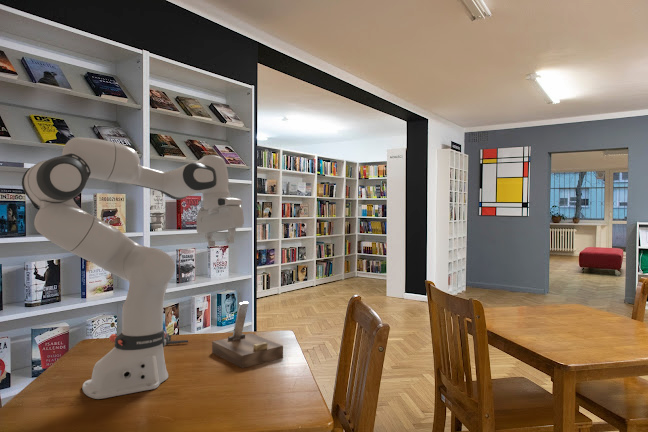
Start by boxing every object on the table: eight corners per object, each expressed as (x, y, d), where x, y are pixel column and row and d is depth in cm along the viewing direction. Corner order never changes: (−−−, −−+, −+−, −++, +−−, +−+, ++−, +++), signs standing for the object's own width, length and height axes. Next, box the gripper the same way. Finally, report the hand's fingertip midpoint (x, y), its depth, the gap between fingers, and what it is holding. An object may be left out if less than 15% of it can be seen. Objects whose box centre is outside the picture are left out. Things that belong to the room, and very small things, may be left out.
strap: (240, 304, 150) (239, 302, 151) (233, 339, 154) (231, 338, 155) (248, 302, 153) (247, 301, 153) (241, 338, 156) (239, 336, 157)
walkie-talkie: (130, 349, 157) (188, 345, 162) (130, 337, 157) (188, 334, 162) (134, 342, 165) (189, 339, 170) (134, 330, 165) (189, 327, 170)
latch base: (242, 368, 137) (242, 350, 137) (212, 352, 152) (212, 336, 152) (282, 357, 148) (283, 340, 148) (251, 343, 163) (251, 328, 163)
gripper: (190, 208, 149) (193, 248, 148) (230, 198, 137) (234, 241, 136) (205, 208, 154) (208, 247, 153) (245, 199, 143) (249, 241, 141)
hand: (221, 244), depth 145 cm, fingers open, 8 cm apart
